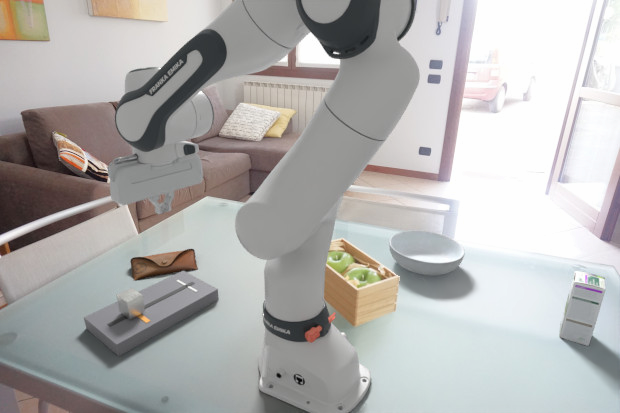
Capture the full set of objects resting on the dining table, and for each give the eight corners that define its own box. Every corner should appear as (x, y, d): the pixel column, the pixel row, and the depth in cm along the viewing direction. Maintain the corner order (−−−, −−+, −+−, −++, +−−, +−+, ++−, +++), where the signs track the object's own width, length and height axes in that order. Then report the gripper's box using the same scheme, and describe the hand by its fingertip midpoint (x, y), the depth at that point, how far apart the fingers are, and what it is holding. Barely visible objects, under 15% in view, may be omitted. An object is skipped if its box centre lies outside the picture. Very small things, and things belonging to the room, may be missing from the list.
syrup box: (589, 347, 88) (608, 289, 83) (557, 337, 91) (574, 280, 85) (589, 332, 92) (607, 277, 87) (559, 323, 95) (574, 269, 90)
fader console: (218, 299, 102) (217, 288, 101) (119, 356, 83) (116, 344, 82) (184, 280, 110) (183, 270, 109) (86, 328, 91) (83, 316, 90)
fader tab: (145, 311, 92) (142, 294, 90) (129, 319, 89) (126, 302, 87) (134, 304, 94) (131, 287, 92) (119, 311, 91) (116, 294, 90)
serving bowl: (461, 291, 107) (465, 268, 105) (382, 276, 114) (384, 254, 111) (461, 255, 126) (464, 235, 123) (392, 245, 132) (394, 225, 129)
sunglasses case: (131, 281, 109) (128, 257, 110) (132, 282, 116) (129, 258, 116) (200, 269, 116) (196, 245, 117) (197, 270, 122) (194, 248, 123)
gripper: (114, 162, 75) (126, 231, 80) (204, 144, 90) (209, 202, 95) (97, 157, 78) (109, 223, 84) (187, 140, 94) (192, 196, 99)
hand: (163, 212), depth 89 cm, fingers closed
